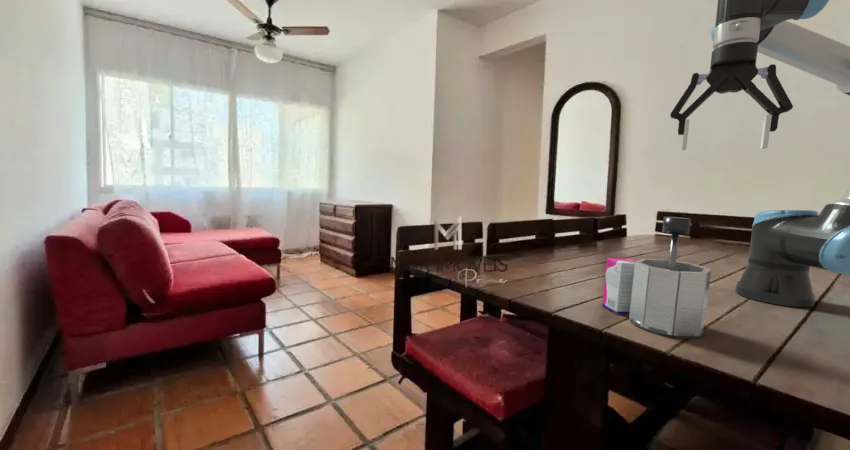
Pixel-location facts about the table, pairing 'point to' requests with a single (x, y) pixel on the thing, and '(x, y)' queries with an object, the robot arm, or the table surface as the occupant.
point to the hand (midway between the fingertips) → (722, 149)
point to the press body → (669, 298)
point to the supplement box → (618, 285)
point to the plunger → (675, 235)
